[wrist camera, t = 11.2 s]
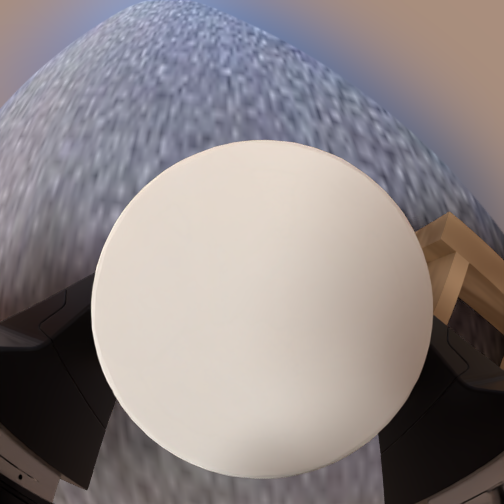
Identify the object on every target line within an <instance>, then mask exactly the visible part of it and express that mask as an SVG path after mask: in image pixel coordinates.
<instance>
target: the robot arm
mask: <svg viewBox="0 0 504 504" xmlns="http://www.w3.org/2000/svg"><path fill="white" fill-rule="evenodd" d="M94 278H95V273H93V274H91V275H90V276H88V277H86V278H84V279H82V280H80V281H78V282H77V283H75V284H73V285H71V286H69V287H68V288H67V289H64V290H62V291H60V292H59V293H57V294H55V295H53V296H51V297H49V298H48V299H46V300H44V301H42V302H40V303H38V304H36V305H34V306H32V307H30V308H28V309H26V310H24V311H21V312H19V313H17V314H15V315H13V316H11V317H9V318H7V319H5V320H3V321H1V322H0V504H54V503H52V502H53V499H54V496H55V492H56V489H57V486H58V483H59V480H60V479H62V480H64V481H66V482H68V483H71V484H73V485H75V486H78V487H80V488H82V489H85V490H88V487H89V484H90V480H91V477H92V473H93V470H94V466H95V463H96V459H97V456H98V453H99V449H100V446H101V443H102V440H103V437H104V434H105V429H106V427H107V424H108V421H109V418H110V415H111V412H112V409H113V406H114V403H115V400H116V396H115V395H114V393H113V390H112V389H111V387H110V385H109V384H108V382H107V380H106V377H105V375H104V373H103V370H102V368H101V365H100V362H99V359H98V355H97V351H96V347H95V342H94V337H93V331H92V317H91V301H92V291H93V283H94ZM378 436H379V444H380V453H381V464H382V474H383V486H384V501H385V504H504V370H502V369H501V368H500V367H499V366H497V365H496V364H495V363H493V362H492V361H491V360H490V359H488V358H487V357H486V356H484V355H483V354H482V353H480V352H479V351H478V350H476V349H475V348H474V347H473V346H471V345H470V344H469V343H467V342H466V341H465V340H464V339H462V338H461V337H460V336H459V335H458V334H456V333H455V332H454V331H453V330H452V329H450V328H449V327H448V328H447V325H446V324H444V323H443V322H442V321H441V320H440V319H438V318H437V317H436V316H435V315H433V323H432V332H431V338H430V344H429V348H428V352H427V355H426V359H425V362H424V365H423V368H422V370H421V373H420V376H419V378H418V380H417V382H416V384H415V385H414V387H413V389H412V391H411V393H410V395H409V397H408V398H407V400H406V401H405V403H404V404H403V406H402V407H401V408H400V410H399V411H398V412H397V413H396V415H395V416H394V417H393V418H392V420H391V421H390V422H389V423H388V424H387V425H386V426H385V427H384V428H383V429H382V430H381V431H380V432H379V433H378Z"/></svg>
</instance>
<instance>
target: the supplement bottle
mask: <svg viewBox="0 0 504 504" xmlns="http://www.w3.org/2000/svg"><path fill="white" fill-rule="evenodd" d="M91 317H92V331H93V337H94V342H95V347H96V351H97V355H98V359H99V362H100V365H101V368H102V370H103V373H104V375H105V377H106V380H107V382H108V384H109V385H110V387H111V389H112V390H113V393H114V395H115V396H116V398H117V400H118V401H119V403H120V404H121V406H122V407H123V408H124V410H125V411H126V412H127V414H128V415H129V416H130V418H131V419H132V420H133V421H134V422H135V423H136V424H137V425H138V426H139V427H140V428H141V429H142V430H143V431H144V432H145V433H146V434H147V435H148V436H149V437H150V438H151V439H152V440H154V441H155V442H156V443H158V444H159V445H160V446H162V447H163V448H164V449H166V450H168V451H169V452H171V453H172V454H174V455H176V456H177V457H179V458H181V459H183V460H185V461H187V462H189V463H191V464H194V465H196V466H198V467H201V468H204V469H206V470H209V471H213V472H217V473H220V474H224V475H229V476H235V477H244V478H257V479H271V478H283V477H289V476H294V475H299V474H303V473H307V472H311V471H314V470H317V469H320V468H323V467H325V466H328V465H330V464H333V463H335V462H337V461H339V460H341V459H343V458H344V457H346V456H348V455H350V454H351V453H353V452H354V451H356V450H357V449H359V448H360V447H362V446H363V445H365V444H366V443H368V442H369V441H370V440H371V439H372V438H373V437H375V436H376V435H377V434H378V433H379V432H380V431H381V430H382V429H383V428H384V427H385V426H386V425H387V424H388V423H389V422H390V421H391V420H392V418H393V417H394V416H395V415H396V413H397V412H398V411H399V410H400V408H401V407H402V406H403V404H404V403H405V401H406V400H407V398H408V397H409V395H410V393H411V391H412V389H413V387H414V385H415V384H416V382H417V380H418V378H419V376H420V373H421V370H422V368H423V365H424V362H425V359H426V355H427V352H428V348H429V344H430V338H431V332H432V323H433V295H432V285H431V280H430V275H429V270H428V266H427V263H426V259H425V256H424V253H423V251H422V248H421V246H420V243H419V241H418V239H417V237H416V234H415V232H414V230H413V228H412V226H411V225H410V223H409V221H408V220H407V218H406V216H405V215H404V213H403V212H402V211H401V209H400V208H399V207H398V206H397V204H396V203H395V202H394V201H393V200H392V198H391V197H390V196H389V195H388V194H387V193H386V192H385V191H384V190H383V189H382V188H381V187H380V186H379V185H378V184H377V183H376V182H374V181H373V180H372V179H371V178H370V177H369V176H367V175H366V174H365V173H363V172H362V171H360V170H359V169H357V168H356V167H354V166H353V165H351V164H350V163H348V162H347V161H345V160H343V159H341V158H339V157H337V156H335V155H332V154H330V153H327V152H325V151H322V150H319V149H317V148H313V147H310V146H306V145H302V144H298V143H293V142H283V141H273V140H251V141H243V142H235V143H230V144H225V145H221V146H217V147H214V148H211V149H208V150H206V151H203V152H200V153H198V154H195V155H193V156H190V157H188V158H186V159H184V160H182V161H180V162H178V163H176V164H175V165H173V166H171V167H170V168H168V169H166V170H165V171H163V172H162V173H161V174H160V175H158V176H157V177H156V178H155V179H153V180H152V181H151V182H150V183H149V184H147V185H146V186H145V187H144V188H143V189H142V190H141V191H140V192H139V193H138V194H137V195H136V196H135V197H134V198H133V199H132V201H131V202H130V203H129V204H128V205H127V207H126V208H125V209H124V211H123V212H122V214H121V215H120V217H119V218H118V220H117V221H116V223H115V225H114V226H113V228H112V230H111V232H110V234H109V236H108V238H107V240H106V243H105V245H104V247H103V250H102V252H101V255H100V258H99V261H98V264H97V268H96V272H95V278H94V283H93V291H92V301H91Z"/></svg>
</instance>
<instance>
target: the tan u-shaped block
mask: <svg viewBox="0 0 504 504" xmlns="http://www.w3.org/2000/svg"><path fill="white" fill-rule="evenodd" d="M415 234H416V237H417V239H418V241H419V243H420V246H421V248H422V251H423V253H424V256H425V259H426V263H427V266H428V270H429V275H430V280H431V285H432V295H433V315H435V316H436V317H437V318H438V319H440V320H441V321H442V322H443V323H444V324H446V325H447V324H448V322H449V319H450V317H451V314H452V312H453V309H454V306H455V304H456V301H457V298H458V297H459V298H460V299H462V300H463V301H464V302H465V303H467V304H468V305H469V306H470V307H471V308H473V309H474V310H475V311H476V312H478V313H479V314H480V315H481V316H482V317H484V318H485V319H486V320H487V321H488V322H489V323H491V324H492V325H493V326H494V327H495V328H496V329H498V330H499V331H500V332H501V333H502V334H503V335H504V260H503V259H502V258H501V257H500V256H499V255H498V254H497V253H496V252H495V251H494V250H492V249H491V248H490V247H489V246H488V245H487V244H486V243H485V242H484V241H483V240H482V239H481V238H480V237H479V236H477V235H476V234H475V233H474V232H473V231H472V230H471V229H470V228H468V227H467V226H466V225H465V224H464V223H463V222H461V221H460V220H459V219H458V218H457V217H456V216H454V215H453V214H452V213H451V212H448V213H446V214H445V215H443V216H441V217H440V218H438V219H436V220H435V221H433V222H431V223H430V224H428V225H426V226H425V227H423V228H421V229H420V230H418V231H416V232H415ZM500 368H501V369H502V370H504V357H503V359H502V362H501V365H500Z"/></svg>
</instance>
